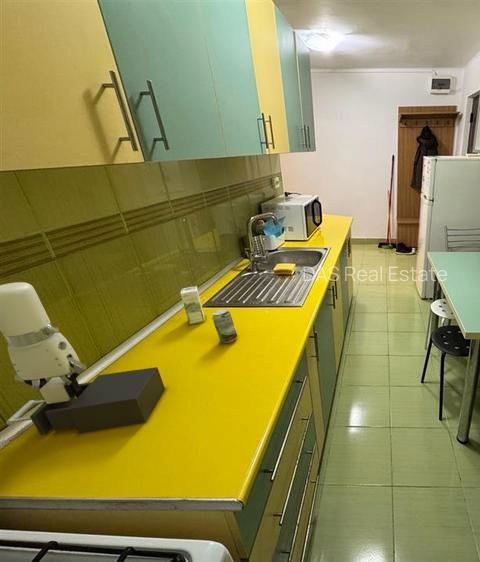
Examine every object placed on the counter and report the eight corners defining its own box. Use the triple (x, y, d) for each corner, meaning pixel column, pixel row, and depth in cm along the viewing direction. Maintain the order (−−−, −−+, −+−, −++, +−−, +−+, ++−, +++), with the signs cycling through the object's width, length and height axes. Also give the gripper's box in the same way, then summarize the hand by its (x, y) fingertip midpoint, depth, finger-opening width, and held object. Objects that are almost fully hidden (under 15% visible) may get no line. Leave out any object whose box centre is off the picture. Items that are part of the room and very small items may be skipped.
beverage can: (229, 346, 110) (222, 317, 105) (213, 342, 112) (206, 314, 108) (242, 337, 115) (236, 309, 111) (226, 333, 118) (220, 306, 113)
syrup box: (204, 315, 131) (196, 285, 126) (204, 322, 127) (196, 290, 121) (189, 319, 129) (180, 288, 123) (189, 325, 124) (180, 293, 119)
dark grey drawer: (5, 441, 73) (-9, 422, 70) (41, 406, 83) (31, 388, 81) (104, 425, 77) (95, 406, 74) (127, 393, 87) (120, 376, 85)
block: (46, 404, 75) (38, 389, 73) (59, 391, 79) (52, 377, 77) (68, 400, 76) (60, 386, 74) (80, 388, 80) (73, 374, 78)
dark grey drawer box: (79, 433, 76) (66, 409, 73) (108, 397, 87) (98, 375, 84) (145, 422, 79) (135, 398, 75) (165, 389, 90) (157, 366, 87)
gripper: (84, 322, 76) (110, 380, 83) (1, 331, 72) (35, 391, 79) (62, 338, 69) (93, 400, 76) (-30, 349, 65) (11, 413, 72)
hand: (63, 395), depth 77 cm, fingers closed on block, 4 cm apart
